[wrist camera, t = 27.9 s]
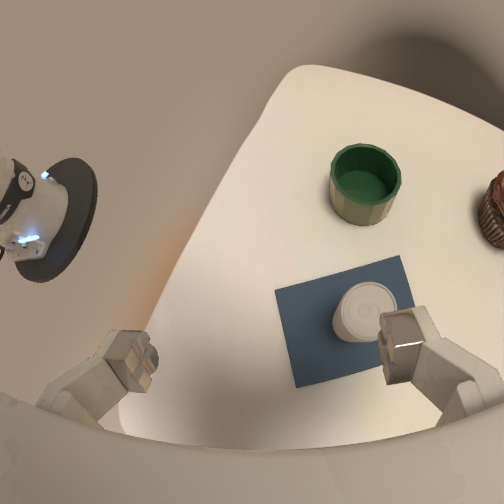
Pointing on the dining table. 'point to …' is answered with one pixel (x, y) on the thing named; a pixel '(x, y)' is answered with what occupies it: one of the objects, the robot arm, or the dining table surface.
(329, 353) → the mat
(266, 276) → the dining table surface
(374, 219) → the green round pot
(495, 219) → the cupcake
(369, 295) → the beverage can
